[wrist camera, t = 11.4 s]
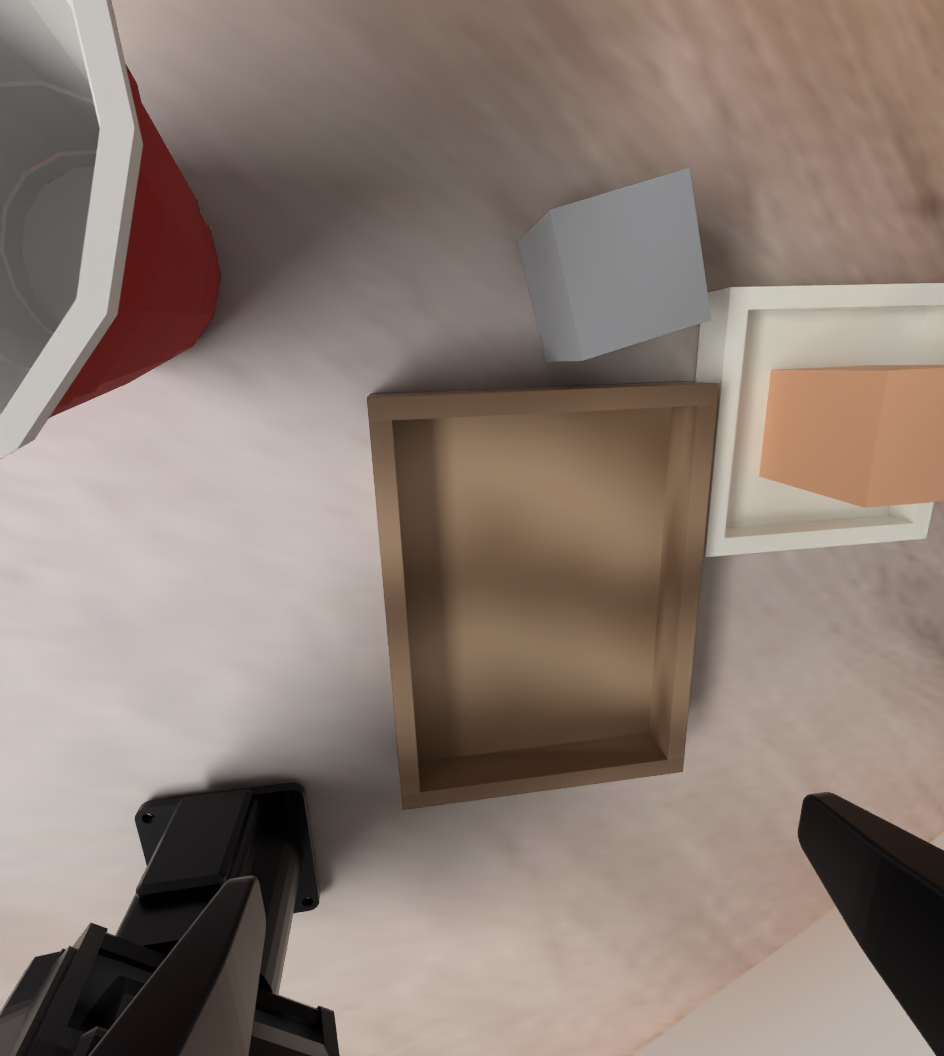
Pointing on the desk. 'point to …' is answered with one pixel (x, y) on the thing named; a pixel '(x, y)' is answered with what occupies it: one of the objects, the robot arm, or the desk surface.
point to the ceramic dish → (744, 375)
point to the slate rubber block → (616, 269)
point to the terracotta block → (857, 433)
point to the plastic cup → (86, 221)
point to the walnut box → (540, 581)
